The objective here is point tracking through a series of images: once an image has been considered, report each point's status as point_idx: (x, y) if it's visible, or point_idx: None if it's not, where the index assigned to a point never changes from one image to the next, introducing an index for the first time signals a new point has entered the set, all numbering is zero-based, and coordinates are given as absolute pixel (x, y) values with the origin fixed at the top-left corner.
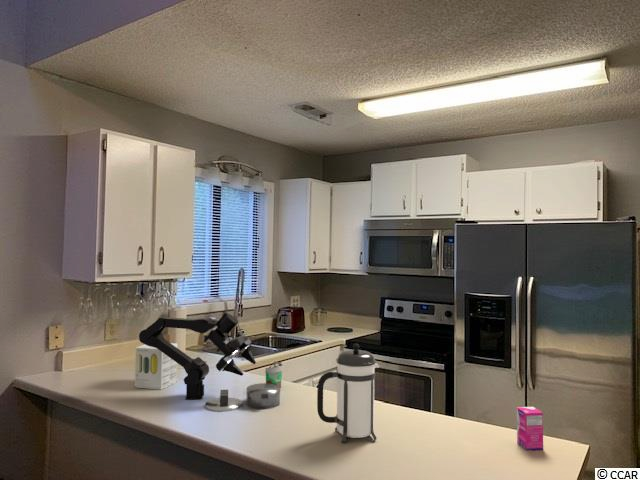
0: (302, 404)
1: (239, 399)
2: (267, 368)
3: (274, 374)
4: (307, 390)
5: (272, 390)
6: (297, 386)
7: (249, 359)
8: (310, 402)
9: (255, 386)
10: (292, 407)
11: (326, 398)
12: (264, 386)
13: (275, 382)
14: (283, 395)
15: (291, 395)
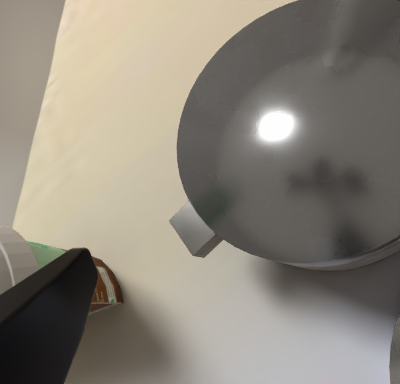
0: (220, 11)
1: (394, 332)
2: (4, 286)
3: (31, 249)
4: (61, 137)
5: (309, 23)
6: (31, 208)
7: (40, 379)
8: (181, 12)
9: (297, 202)
10: (282, 4)
11: (116, 13)
12: (256, 143)
13: None
14: (151, 170)
15: (136, 140)
